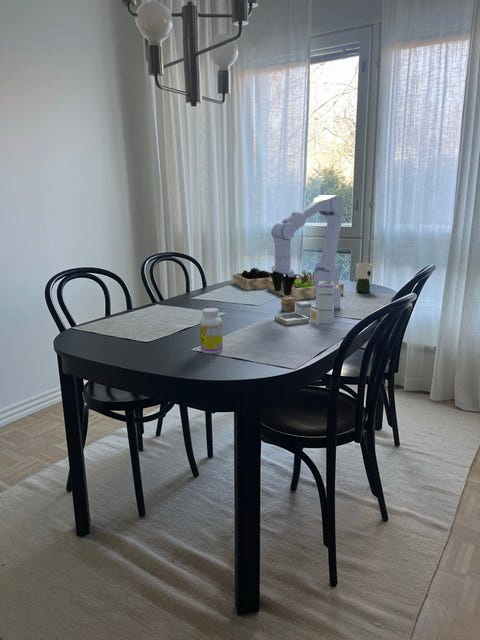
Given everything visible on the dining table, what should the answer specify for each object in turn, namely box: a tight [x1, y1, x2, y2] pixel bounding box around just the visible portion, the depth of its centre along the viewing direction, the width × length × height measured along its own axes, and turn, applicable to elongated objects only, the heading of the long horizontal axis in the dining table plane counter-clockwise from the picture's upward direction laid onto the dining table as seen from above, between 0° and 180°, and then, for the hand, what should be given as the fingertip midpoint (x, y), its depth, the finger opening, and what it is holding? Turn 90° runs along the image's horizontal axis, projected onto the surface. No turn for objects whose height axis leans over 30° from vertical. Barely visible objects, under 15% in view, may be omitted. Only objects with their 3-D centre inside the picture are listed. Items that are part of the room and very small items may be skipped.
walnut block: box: [280, 296, 296, 313], centre depth 188 cm, size 4×4×5 cm
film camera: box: [241, 267, 270, 280], centre depth 240 cm, size 15×10×9 cm, turn 69°
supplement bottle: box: [199, 307, 224, 355], centre depth 141 cm, size 7×7×13 cm
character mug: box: [355, 262, 373, 293], centre depth 218 cm, size 11×7×13 cm, turn 153°
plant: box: [292, 270, 315, 289], centre depth 219 cm, size 20×20×11 cm
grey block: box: [295, 300, 312, 317], centre depth 180 cm, size 4×4×5 cm
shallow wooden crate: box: [232, 270, 273, 291], centre depth 240 cm, size 20×20×5 cm
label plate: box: [309, 307, 320, 326], centre depth 169 cm, size 1×5×5 cm, turn 23°
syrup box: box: [317, 281, 335, 325], centre depth 170 cm, size 6×6×14 cm
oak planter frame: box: [267, 275, 345, 301], centre depth 221 cm, size 26×26×5 cm
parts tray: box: [274, 311, 310, 327], centre depth 173 cm, size 9×9×2 cm
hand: (282, 293), depth 176 cm, fingers open, 7 cm apart
